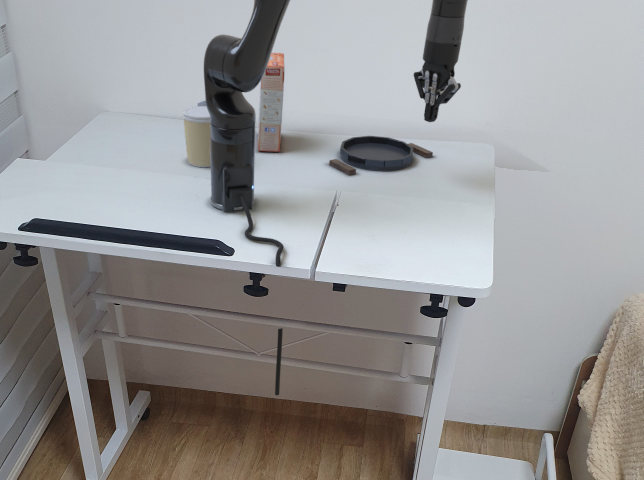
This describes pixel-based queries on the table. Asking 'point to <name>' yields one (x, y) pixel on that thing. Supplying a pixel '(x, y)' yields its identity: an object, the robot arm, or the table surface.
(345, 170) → the walnut strips
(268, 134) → the cracker box
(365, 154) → the plate
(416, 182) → the table surface
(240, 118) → the robot arm
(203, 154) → the coffee cup
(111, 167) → the table surface
